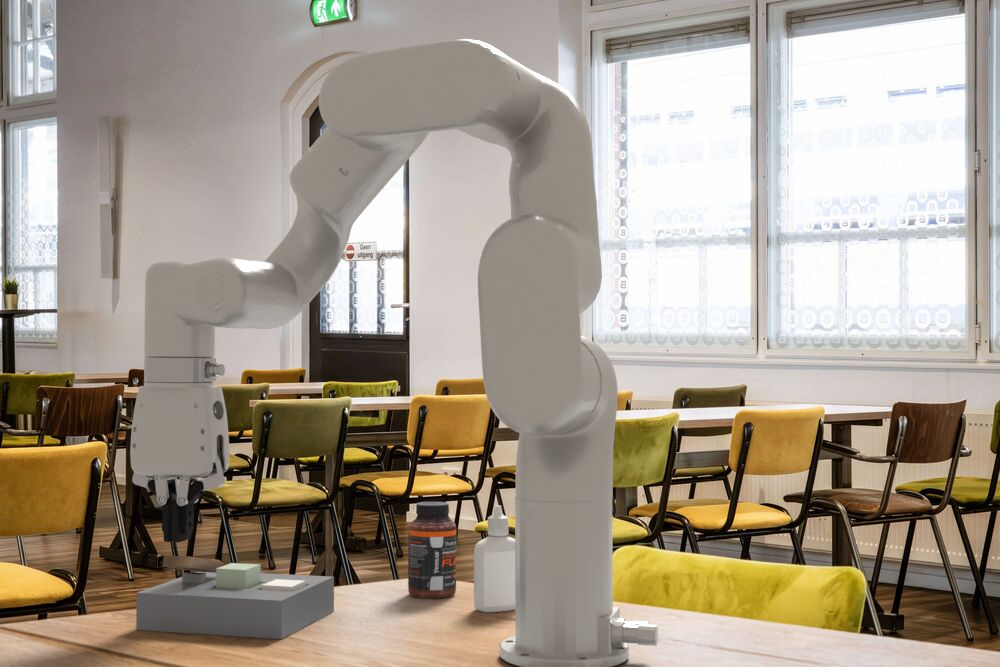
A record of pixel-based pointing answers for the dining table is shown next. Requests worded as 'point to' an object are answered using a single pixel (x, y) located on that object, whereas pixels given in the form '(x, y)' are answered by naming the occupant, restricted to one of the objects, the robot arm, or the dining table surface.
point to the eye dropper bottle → (495, 567)
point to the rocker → (192, 563)
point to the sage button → (238, 576)
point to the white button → (284, 585)
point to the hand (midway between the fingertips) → (177, 540)
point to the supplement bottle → (432, 552)
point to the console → (233, 606)
